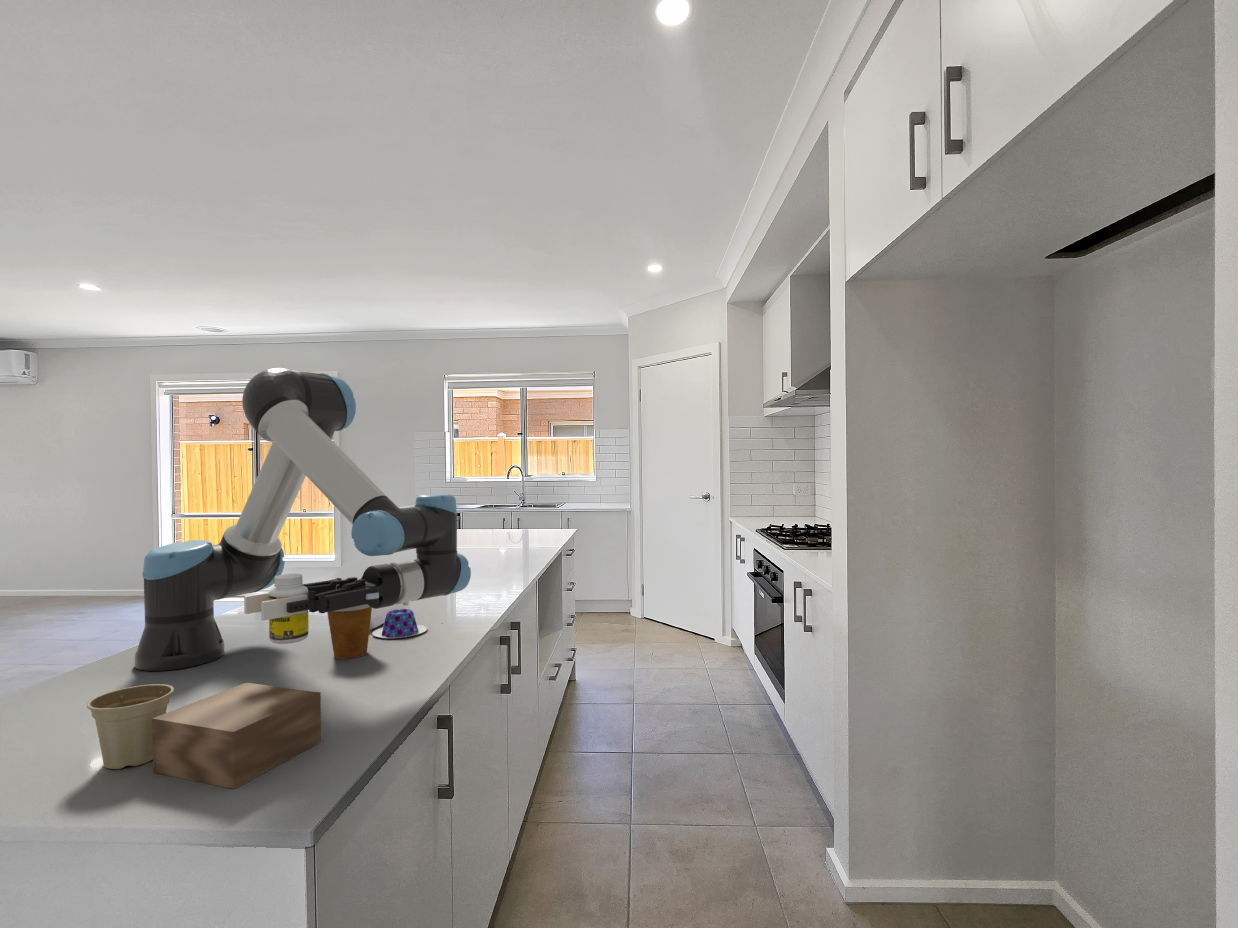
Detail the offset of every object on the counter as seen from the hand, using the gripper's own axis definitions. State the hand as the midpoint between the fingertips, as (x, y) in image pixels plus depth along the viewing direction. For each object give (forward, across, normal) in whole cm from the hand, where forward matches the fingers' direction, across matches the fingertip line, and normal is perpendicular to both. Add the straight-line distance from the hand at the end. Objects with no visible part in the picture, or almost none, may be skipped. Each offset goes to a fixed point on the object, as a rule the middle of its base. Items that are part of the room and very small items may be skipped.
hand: (253, 607), depth 100 cm
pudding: (-43, +29, -18) cm, 55 cm away
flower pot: (+15, 0, -18) cm, 24 cm away
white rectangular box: (-47, +44, -18) cm, 67 cm away
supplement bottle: (-5, 0, -6) cm, 8 cm away
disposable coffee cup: (-27, +22, -18) cm, 39 cm away
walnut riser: (+6, -10, -18) cm, 21 cm away
